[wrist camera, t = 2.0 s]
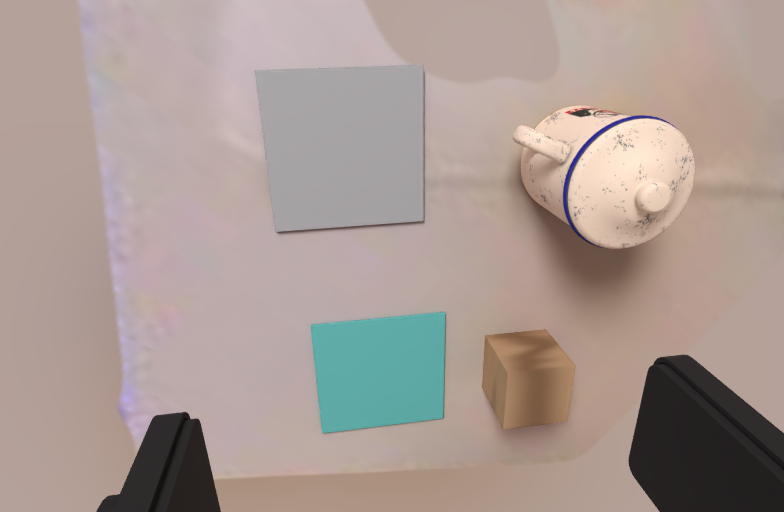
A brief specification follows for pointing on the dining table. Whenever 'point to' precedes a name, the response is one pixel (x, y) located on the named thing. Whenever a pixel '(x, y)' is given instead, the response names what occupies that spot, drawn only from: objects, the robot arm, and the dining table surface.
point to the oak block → (527, 378)
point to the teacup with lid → (607, 173)
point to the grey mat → (343, 145)
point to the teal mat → (380, 371)
